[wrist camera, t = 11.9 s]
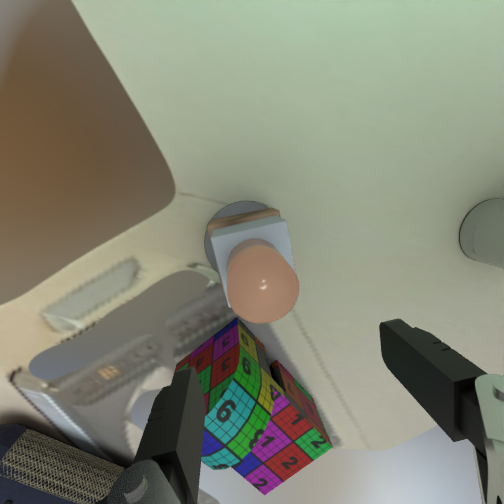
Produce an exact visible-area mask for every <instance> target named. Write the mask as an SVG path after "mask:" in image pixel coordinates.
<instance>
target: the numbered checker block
mask: <svg viewBox="0 0 504 504" xmlns="http://www.w3.org/2000/svg"><path fill="white" fill-rule="evenodd" d="M189 367H195V369H196V372H197V375H198V379H199V382H200V385H201V389H202V392H203V395H204V399H205V408H206V413H205V424H204V435H203V446H202V456H201V461H202V462H203V463H204V464H206V465H207V466H209V467H210V468H212V469H213V470H215V469H216V470H217V469H226V468H228V467H230V466H231V467H232V468H233V469H234V470H235V471H237V472H238V473H239V474H240V475H241V476H243V477H244V478H245V479H246V480H247V481H248V482H250V483H251V484H252V485H253V486H254V487H256V488H257V489H258V490H259V491H260V492H261V493H262V494H264V495H266V494H267V493H268V492H270V491H271V490H273V489H274V488H275V487H277V486H278V485H280V484H281V483H283V482H284V481H285V480H287V479H288V478H290V477H291V476H292V475H294V474H295V473H297V472H298V471H300V470H301V469H302V468H304V467H305V466H307V465H308V464H310V463H311V462H312V461H314V460H315V459H317V458H318V457H319V456H321V455H322V454H324V453H325V452H326V451H328V450H329V449H331V448H332V447H333V446H332V444H331V441H330V439H329V437H328V434H327V432H326V429H325V427H324V424H323V422H322V420H321V417H320V415H319V412H318V410H317V407H316V405H315V403H314V400H313V398H312V397H311V396H310V395H309V394H308V393H307V392H306V391H305V390H304V388H303V387H302V386H301V385H300V384H299V383H298V382H297V381H296V380H295V379H294V378H293V377H292V376H291V374H290V373H289V372H288V371H287V370H286V369H285V368H284V367H283V366H282V365H281V364H280V363H279V362H278V360H276V361H275V362H273V363H272V367H273V371H274V375H275V378H276V382H277V383H276V382H275V381H274V380H273V379H272V377H271V373H270V369H269V364H268V360H267V356H266V352H265V348H264V345H263V344H262V343H261V342H260V341H259V340H258V339H257V338H256V337H255V336H254V335H253V334H252V332H251V331H250V330H249V329H248V328H247V327H246V326H245V325H244V324H243V323H242V322H241V321H240V320H239V318H238V317H237V318H235V319H234V320H233V321H232V322H230V323H229V324H228V325H226V326H225V327H224V328H223V329H221V330H220V331H219V332H217V333H216V334H215V335H214V336H212V337H211V338H210V339H209V340H207V341H206V342H205V343H203V344H202V345H201V346H200V347H198V348H197V349H196V350H194V351H193V352H192V353H191V354H189V355H188V356H187V357H185V358H184V359H183V360H182V361H180V362H179V363H178V364H177V365H176V369H175V371H177V370H181V369H185V368H189ZM174 373H175V372H174ZM172 380H173V379H172Z"/></svg>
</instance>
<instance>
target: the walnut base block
mask: <svg viewBox="0 0 504 504" xmlns="http://www.w3.org/2000/svg"><path fill="white" fill-rule="evenodd" d="M275 215H277V216H278V217H280V212H279V210H277V209H274V208H272V207H271V208H266V209H262V210H257V211H252V212H247V213H243V214H238V215H233V216H228V217H224V218H219V219H214V220H210V221H209V223H208V225H207V227H208V231H209V235H210V239H211V236H212V233H213V230H214V229H218V228H223V227H227V226H231V225H236V224H240V223H244V222H249V221H253V220H258V219H262V218H266V217H271V216H275ZM280 218H281V217H280ZM211 243H212V241H211ZM212 247H213V244H212ZM213 252H214V248H213ZM214 256H215V252H214ZM215 260H216V256H215ZM216 264H217V260H216ZM217 268H218V264H217ZM218 272H219V276H220V280H221V284H222V288H223V292H224V293H225V291H224V287H223V283H222V279H221V275H220V271H219V268H218Z"/></svg>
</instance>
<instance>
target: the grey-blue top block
mask: <svg viewBox="0 0 504 504" xmlns="http://www.w3.org/2000/svg"><path fill="white" fill-rule="evenodd" d="M248 239H262V240H265V241H268V242H270V243H271V244H272V245H274V246H275V247H276V249H277V250H278V251H279V252H280V253H281V255H282V256H283V257H284V258H285V260H286V261H287V262H288V263H289V265H290V266H291V267H292V268H293V270H294V271H295V266H294V261H293V255H292V250H291V244H290V239H289V233H288V227H287V222H286V220H284V219H282V218H280V217H278V216H277V215H275V216H271V217H266V218H262V219H258V220H253V221H249V222H244V223H240V224H236V225H231V226H227V227H223V228H218V229H214V230H213V233H212V236H211V241H212V244H213V248H214V252H215V256H216V260H217V264H218V268H219V271H220V275H221V279H222V283H223V287H224V291H225V294H226V298H227V302H228V306H229V307H231V306H230V303H229V301H228V297H227V260H228V257H229V254H230V253H231V251H232V250H233V248H234V247H235V246H236V245H238V244H239V243H241V242H242V241H245V240H248ZM295 273H296V272H295Z"/></svg>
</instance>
